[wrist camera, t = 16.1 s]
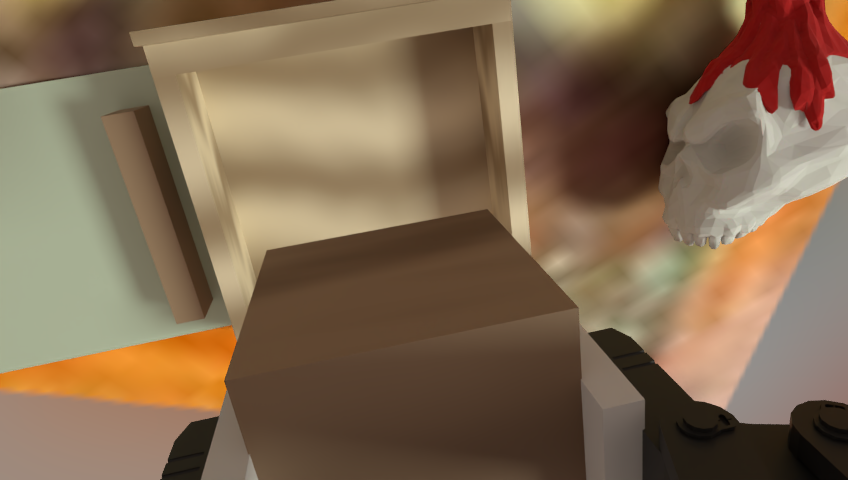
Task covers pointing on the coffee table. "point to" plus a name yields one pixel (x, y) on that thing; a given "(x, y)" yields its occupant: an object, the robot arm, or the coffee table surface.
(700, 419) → the robot arm
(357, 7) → the box
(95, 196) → the lid
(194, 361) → the coffee table surface
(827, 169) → the candle
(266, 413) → the walnut block
